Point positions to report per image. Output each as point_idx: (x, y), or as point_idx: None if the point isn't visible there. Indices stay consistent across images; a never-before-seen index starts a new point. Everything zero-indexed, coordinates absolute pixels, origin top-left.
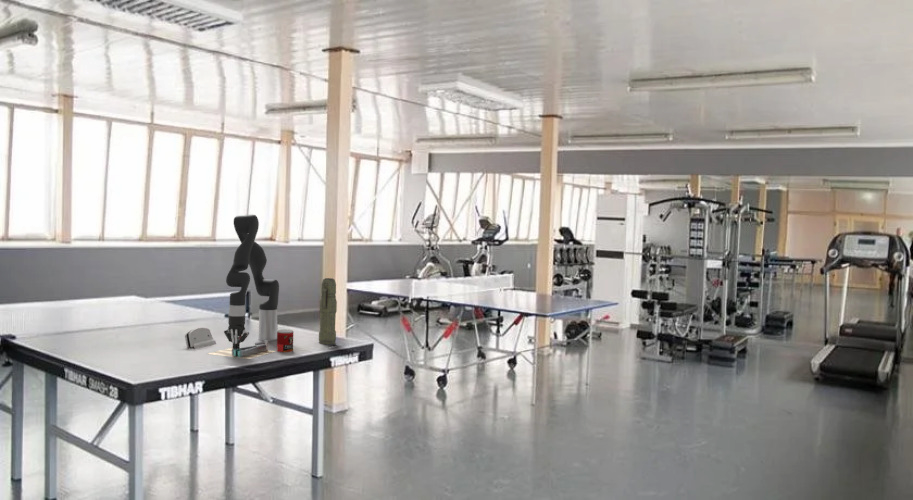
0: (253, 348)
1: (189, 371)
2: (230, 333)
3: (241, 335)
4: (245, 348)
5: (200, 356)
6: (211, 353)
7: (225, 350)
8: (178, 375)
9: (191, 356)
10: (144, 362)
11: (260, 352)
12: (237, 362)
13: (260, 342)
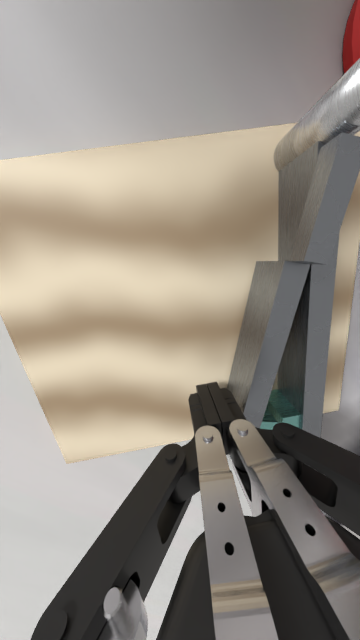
0: (328, 344)
1: None
2: (126, 569)
3: (305, 492)
4: (271, 373)
5: (52, 465)
6: (77, 445)
7: (48, 340)
8: None
9: (21, 488)
10: (16, 614)
11: None
12: None
13: (340, 197)
